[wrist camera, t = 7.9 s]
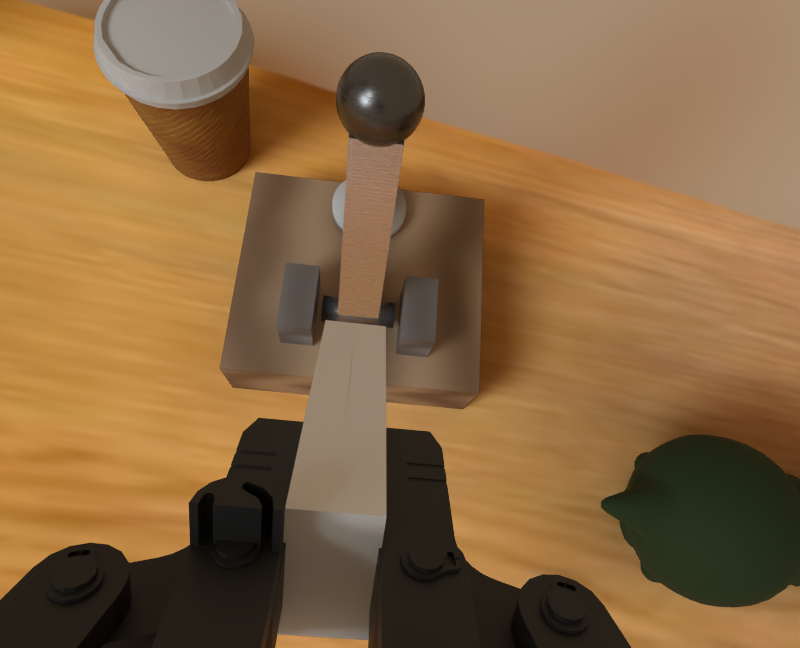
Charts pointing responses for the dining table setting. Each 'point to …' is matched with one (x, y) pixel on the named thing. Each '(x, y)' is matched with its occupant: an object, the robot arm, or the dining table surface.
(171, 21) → the disposable coffee cup
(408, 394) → the base
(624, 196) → the dining table surface
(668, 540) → the toy figurine
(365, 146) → the lever
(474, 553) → the dining table surface
